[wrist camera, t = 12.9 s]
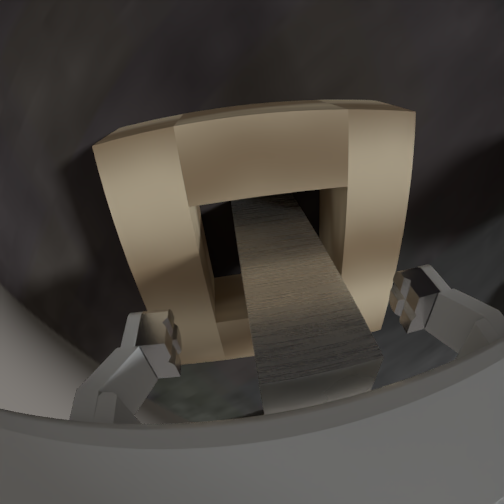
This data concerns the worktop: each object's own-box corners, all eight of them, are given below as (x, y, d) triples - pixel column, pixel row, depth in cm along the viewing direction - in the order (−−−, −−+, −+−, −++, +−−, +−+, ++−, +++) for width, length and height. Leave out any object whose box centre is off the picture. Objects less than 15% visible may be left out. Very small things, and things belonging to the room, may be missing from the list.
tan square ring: (119, 127, 12) (92, 145, 9) (374, 100, 12) (415, 111, 10) (175, 321, 19) (172, 365, 16) (359, 291, 19) (380, 329, 16)
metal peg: (230, 200, 15) (259, 384, 6) (291, 192, 15) (383, 357, 6) (238, 252, 16) (267, 432, 8) (293, 244, 16) (361, 411, 8)
